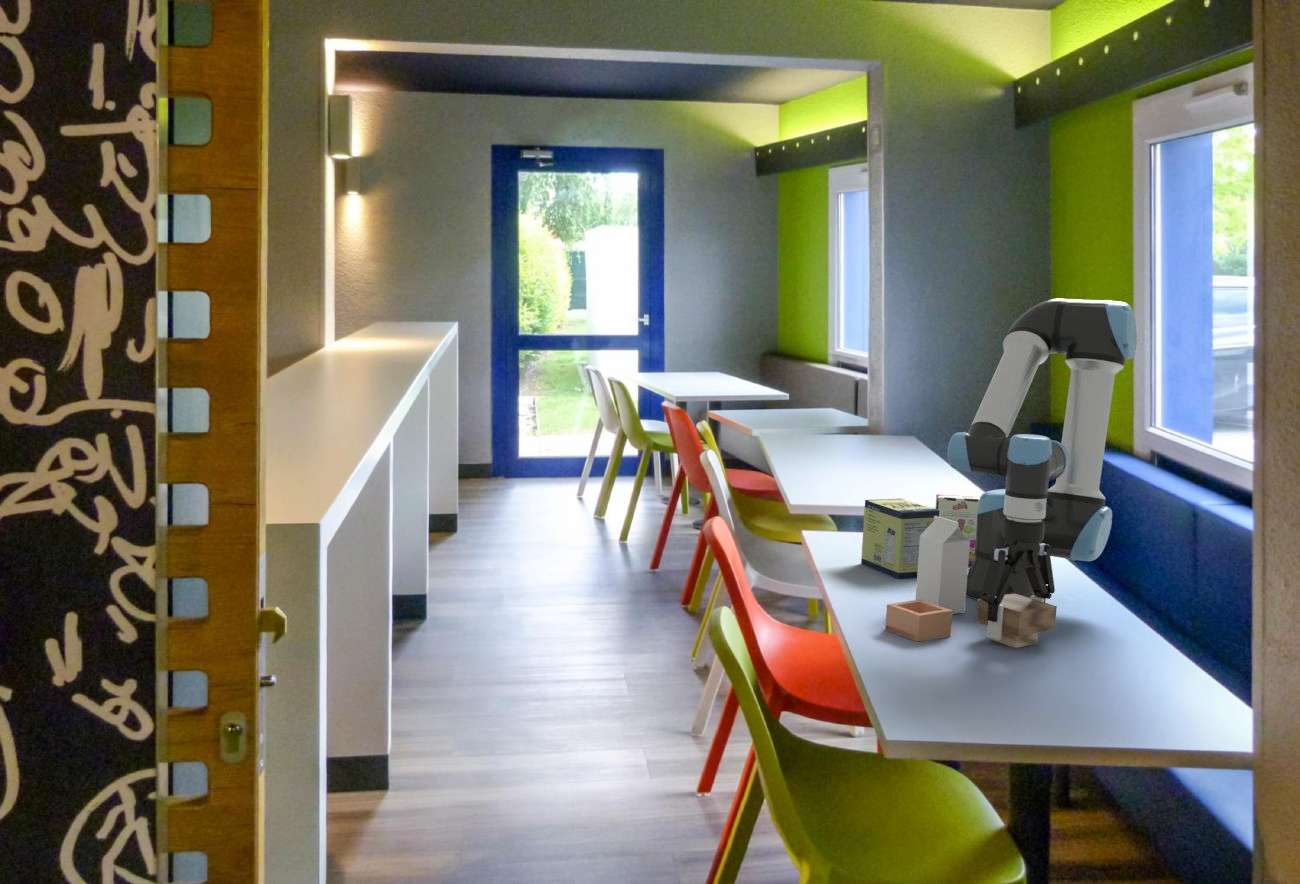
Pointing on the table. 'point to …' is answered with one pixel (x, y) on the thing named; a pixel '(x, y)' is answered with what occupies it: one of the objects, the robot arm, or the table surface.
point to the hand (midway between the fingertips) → (1014, 634)
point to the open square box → (918, 620)
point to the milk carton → (943, 565)
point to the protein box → (894, 535)
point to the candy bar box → (961, 516)
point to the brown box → (1021, 615)
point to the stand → (1018, 639)
